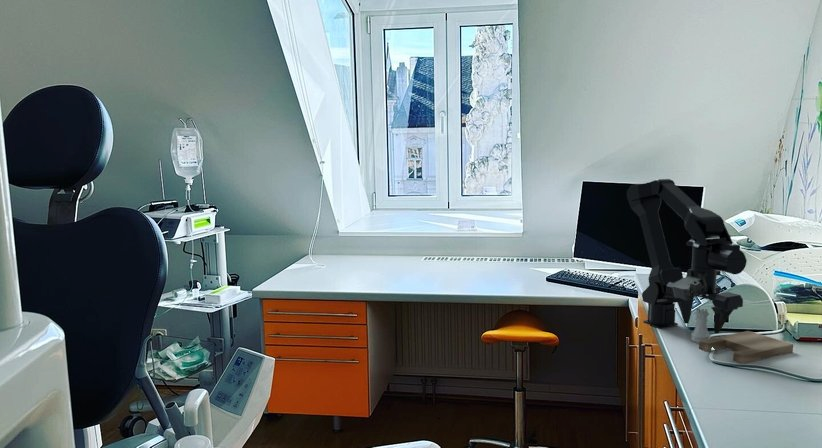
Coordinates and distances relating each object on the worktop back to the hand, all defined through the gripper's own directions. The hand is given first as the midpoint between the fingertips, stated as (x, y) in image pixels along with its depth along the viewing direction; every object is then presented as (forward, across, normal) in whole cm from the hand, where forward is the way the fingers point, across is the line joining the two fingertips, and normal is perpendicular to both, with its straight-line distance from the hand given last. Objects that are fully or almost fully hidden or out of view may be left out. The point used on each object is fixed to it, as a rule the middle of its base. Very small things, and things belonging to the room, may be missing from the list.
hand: (701, 328), depth 169 cm
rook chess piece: (+4, 0, 0) cm, 4 cm away
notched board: (+3, +10, +4) cm, 11 cm away
